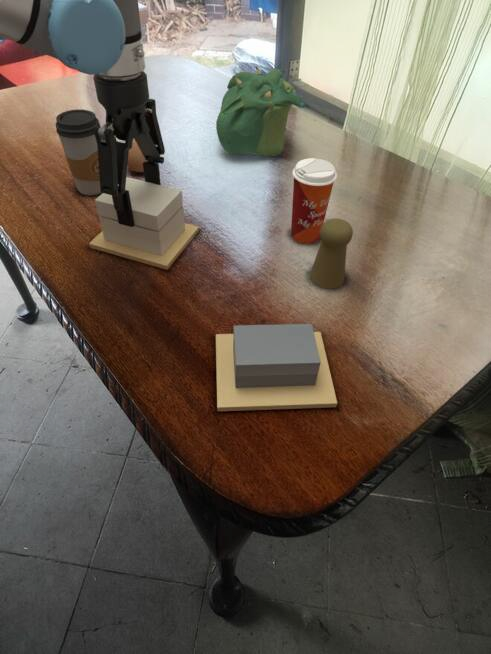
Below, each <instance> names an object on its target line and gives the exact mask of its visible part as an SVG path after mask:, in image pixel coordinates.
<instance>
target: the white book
mask: <svg viewBox="0 0 491 654" xmlns="http://www.w3.org/2000/svg"><path fill="white" fill-rule="evenodd" d="M118 186H119V185H118ZM125 190H128V191H129V195H130V201H131V206H132V213H133V218H134V224H135V225H137V226H141V227H145V228H149V229H152V230H156V231H159V230H160V229H161V228H162V227H163V226H164V225H165V224H166V223H167V222H168V221H169V220H170V218H171V217H172V216H173V215H174V214H175V213H176V212H177V211H178V210H179V209H180V208H181V207H182V206H183V205H184V201H183V193H182V192H183V191H182V189H177V188H174V187H169V186H165V185H162V184H161V185H157V184H153V183H149V182H145V180H141V179H138V178H137V179H136V178H132V177H128V176H126V186H125ZM94 203H95V206H96V210H97V215H98V216H104V217H108V218H111V219H115V220H118V217H117V213H116V210H115V208H114V204H113V199H112V195H108V194H105V193H101V194H99V196H98V197H96V198H95V199H94Z"/></svg>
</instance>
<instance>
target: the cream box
mask: <svg viewBox="0 0 491 654" xmlns="http://www.w3.org/2000/svg"><path fill="white" fill-rule="evenodd" d="M184 212H185V211H184V206H183V205H182V207H181V208H180V209H179V210H178V211H177V212H176V213H175V214H174V215H173V216H172V217H171V218H170V220H169V221H168V222H167V223H166V224H165V225H164V226H163V227H162V228H161V229H160V230H159V231H156V230H152V229H149V228H145V227H141V226H137V225H134V226H133V227H129V226H126V225H122V224H119V222H118V220H115V219H111V218H108V217H104V216H100V215H98V218H99V219H98V220H99V223H100V228H101V232H100V233H98V234H97V235H96V236H95V237H94V238H93V239H92V240H91V241H90V242H89V243H88V246H89V248H90V249H93V250H97V251H100V252H103V253H107V254H111V255H114V256H117V257H121V258H125V259H128V260H131V261H133V262H134V261H135V262H138V263H142V264H145V265H148V266H152V267H155V268H159V269H162V270H166V271H168V270H169V269H170V268H171V266H172V265H173V264H174V263H175V262H176V261H177V259H178V258H179V256H180V255H181V254H182V253H183V251H185V249H186V248H187V247H188V245H189V244H190V243H191V241H192V240H193V239H194V238H195V237H196V236H197V234H198V233H199V231H200V226H199V225H195V224H190V223H187V222H185V213H184Z"/></svg>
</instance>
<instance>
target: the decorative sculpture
mask: <svg viewBox="0 0 491 654" xmlns="http://www.w3.org/2000/svg"><path fill="white" fill-rule="evenodd" d="M255 70H256V73H252V72H249V71H240V72H237V73H235V74H234V75H232V77H231V78H230V79H229V81H228V84H227V90H226V91H225V94H224V95H223V96H222V101H221V107H220V111H219V112H218V116H217V118H216V121H215V127H216V128H215V129H216V135H217V138H218V141H219V143H220V145H221V147H222V149H223V150H224V151H225V153H227V154H229V155H234V156H235V155H244V154H253V155H259V156H264V157H277V156H279V155H281V154H282V152H283V150H284V144H285V136H286V130H287V123H288V118H289V117H288V116H289V113H290V110H291V108H292V106H296V107H301V105H302V101H301V99H300V98H301V97H300V96H299V95H298V94H297V92H296V89H293V86H292V84H291V83H289V82H287V80H286V79H284V77H283V76H284V74H283V72H282V71H281V70H280V69H278V68H274V69H272V70H270V71H268V72H267V73H266V74H265V75H263V73H262V71H261V70H260V68H259V67H258V66H255Z"/></svg>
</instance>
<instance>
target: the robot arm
mask: <svg viewBox="0 0 491 654" xmlns="http://www.w3.org/2000/svg"><path fill="white" fill-rule="evenodd" d="M142 33H143V32H142V26H141V15H140V6H139V0H0V41H7V40H8V41H10V42H13V43H16V44H17V45H20V46H22V47H24V48H27V49H30V50H32V51H35V52H37V53H40V54H43V55H46V56H49V57H50V58H53V59H56V60H58V61H60V62H61V63H62V64H63V65H64V66H65V67H66V68H69V69H72V70H74V71H77V72H79V73H82V74H86V75H91V76H93V77H92V78H93V83H94V88H95V94H96V98H97V102H98V103H99V104H100V105H101V106H102V108H104V110H105V123H104V124H103V125H102V126H101V127H97V126H96V127H95V128H94V135H95V138H96V141H97V148H98V162H99V176H100V190H101V194H103V193H105V194H108V195H112V199H113V204H114V208H115V210H116V213H117V217H118V222H119V224H122V225H126V226H129V227H133V226H134V225H135V224H134V218H133V213H132V206H131V201H130V195H129V191H128V190H125V186H126V177H127V174H128V166H127V165H128V154H129V150H130V149H131V148H132V143H133V139H135V141H136V143H137V145H138V147H139V148H140V150H141V152H142V154H143V156H144V158H145V160H148V162H143V170H144V172H143V175H144V181H145V182H149V183H153V184H157V185H162V183H161V174H160V165H159V164H162V165H163V164H164V162H165V157H164V155H165V153H166V149H165V145H164V140H163V136H162V132H161V128H160V124H159V120H158V115H157V103H156V99H153V98H150V90H149V83H148V74H147V73H146V71H145V69H146V61H145V55H146V54H145V50H144V47H143V46H144V45H143V44H144V43H143V34H142ZM118 140H119V141H118ZM155 145H157V146H155ZM118 185H119V186H118Z"/></svg>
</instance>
